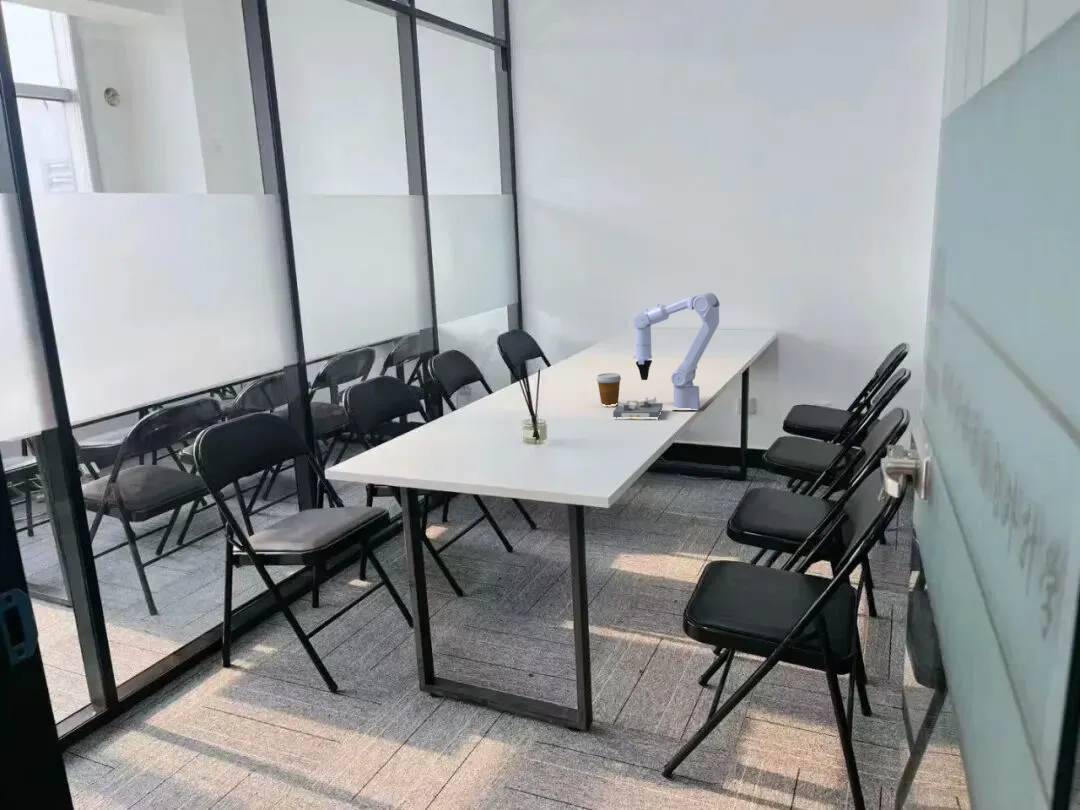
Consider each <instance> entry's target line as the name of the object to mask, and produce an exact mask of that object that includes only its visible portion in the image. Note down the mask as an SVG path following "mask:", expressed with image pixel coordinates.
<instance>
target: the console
mask: <svg viewBox="0 0 1080 810" xmlns="http://www.w3.org/2000/svg"><path fill="white" fill-rule="evenodd" d="M636 403H637V404H636V408H635V409H630V408H629V405H624V407H622V406H616V407H615V409H613V411H612V412H613V413H612V415H613V416H612V417H616V418H617V417H622V418H623V417H658V416H659V414H660V412H661V410H662V408H663V405H664V404H663V402H655V403H652V404H649V402H644V405H642V406H639V404H638V402H636ZM663 409H664V408H663Z"/></svg>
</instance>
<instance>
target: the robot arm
mask: <svg viewBox="0 0 1080 810" xmlns="http://www.w3.org/2000/svg"><path fill="white" fill-rule="evenodd" d="M720 305H721V303H720V301H719V298H718V297H717V295H716V294H715V293H713V292H706V293H704V294H698V295H694V296H689V297H686V298H684V299H682V300H681V299H680V300H679V301H676V302H675V303H672V304H670V305H668V306H667V305H665V304H661V305H660V303H659V304H656V305H655V306H654V307H652V308H649V309H648V308H647V309H644V311H642V312H638V313H636V314H635V315H634V316H633V317H632V324H633V327H634V328H635V354H636V355H633V356H632V358H633V359H636V360H637V361H636V362H635V365H636V366H637V368H638V370H639V371H638V372H639V375H640V379H641V381H647V380H648V379H649V372H650V369H651V365H652V363H653V360H652V358H653V355H652V331H651V329H652V328H651V327H652V325H655V324H658V323H661V322H663V321H666V320H668V319H669V317H670V316H671V314H674V313H677V312H680V311H684V310H686V309H689V310H691V311H693V310H694V311H695V312H696V313H697V314H698V316H699V317H700V319H701V321H702V325H701V327H700V328H699V330H698V333H696V334H697V335H696V336H695V338H694V339H693V342H692V344H691V345H690V347H689V349H688V352H686V353H687V354H686V355H685V357H684V358H683V360H682V362H681V363H680V364H679V366H678V367H677V369H675V370H674V371H673V372H672V373H671V376H670V380H671V383H672V384H673V407H677V408H691V409H697V411H696V412H699V410H698V409H700V407H699V406H700V405H701V401H700V386H699V385H694V382H693V381H694V380H695V378H696V371H697V369H698V364H699V362H700V361H701V358H702V356H703V354H704V353H705V351H706V349H707V347H708V345H709V343H710V341H711V339H712V337H713V335H714V334H715V332H716V329H717V328H718V326H719V325H720V324H719V323H720Z"/></svg>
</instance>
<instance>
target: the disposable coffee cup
mask: <svg viewBox="0 0 1080 810" xmlns="http://www.w3.org/2000/svg"><path fill="white" fill-rule="evenodd" d="M621 379H622V377H621V375H620V374H619V373H615V372H607V373H601V374H598V375H597V377H596V381H597V385H598V392H599V398H600V403H602V404H605V405H611V404H616V403H618V404H619V396H620V386H621ZM602 404H601V405H602Z"/></svg>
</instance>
